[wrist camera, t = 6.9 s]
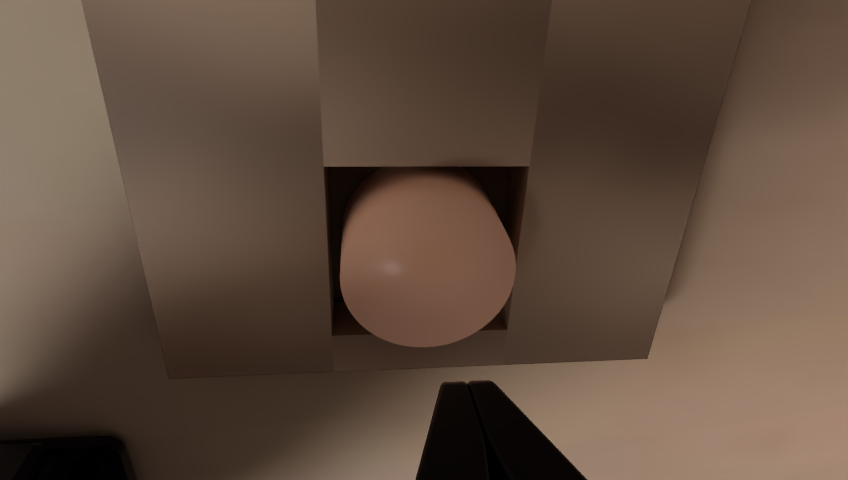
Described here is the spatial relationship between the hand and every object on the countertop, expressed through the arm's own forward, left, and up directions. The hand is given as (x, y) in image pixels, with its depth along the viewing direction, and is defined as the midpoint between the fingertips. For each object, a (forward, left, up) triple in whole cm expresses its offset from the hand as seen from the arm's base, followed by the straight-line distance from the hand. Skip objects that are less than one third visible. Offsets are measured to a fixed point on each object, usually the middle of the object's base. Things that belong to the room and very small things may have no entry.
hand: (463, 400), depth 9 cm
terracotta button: (0, 0, -6) cm, 6 cm away
